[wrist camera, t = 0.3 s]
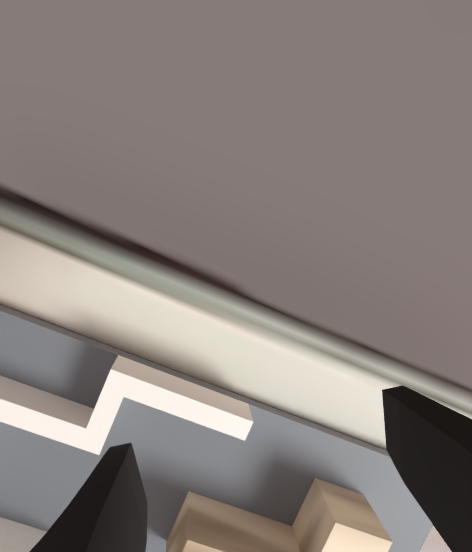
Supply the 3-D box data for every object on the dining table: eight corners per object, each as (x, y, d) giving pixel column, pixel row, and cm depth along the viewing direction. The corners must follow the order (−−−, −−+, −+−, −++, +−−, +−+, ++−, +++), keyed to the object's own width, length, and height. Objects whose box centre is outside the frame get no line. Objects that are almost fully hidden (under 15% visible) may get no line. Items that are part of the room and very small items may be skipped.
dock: (144, 633, 24) (140, 671, 22) (-101, 563, 22) (-129, 597, 20) (248, 403, 23) (253, 421, 21) (-4, 309, 21) (-24, 319, 19)
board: (343, 677, 27) (348, 691, 26) (-101, 549, 23) (-111, 560, 22) (446, 473, 25) (455, 481, 25) (-7, 302, 22) (-14, 305, 21)
